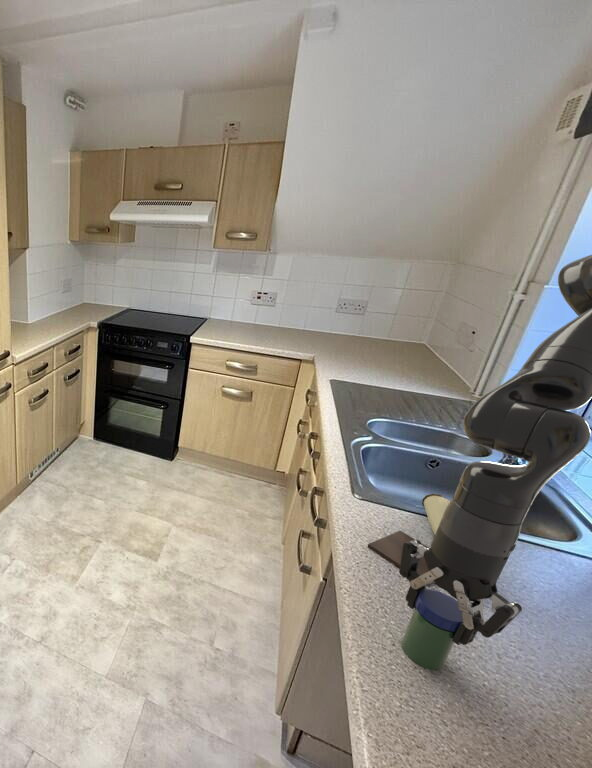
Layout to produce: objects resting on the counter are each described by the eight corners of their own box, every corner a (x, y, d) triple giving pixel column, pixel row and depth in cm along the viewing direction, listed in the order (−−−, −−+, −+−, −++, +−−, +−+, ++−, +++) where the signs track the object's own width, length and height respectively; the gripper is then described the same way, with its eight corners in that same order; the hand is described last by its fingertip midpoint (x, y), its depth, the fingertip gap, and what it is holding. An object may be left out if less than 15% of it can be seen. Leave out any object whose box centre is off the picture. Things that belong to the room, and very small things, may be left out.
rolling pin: (416, 500, 104) (422, 483, 102) (444, 508, 101) (451, 491, 99) (445, 584, 77) (454, 563, 75) (484, 598, 74) (495, 577, 73)
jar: (412, 632, 69) (430, 589, 66) (450, 661, 65) (472, 616, 61) (393, 645, 67) (411, 601, 63) (432, 676, 62) (453, 630, 59)
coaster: (399, 533, 92) (400, 530, 92) (457, 568, 83) (458, 565, 82) (367, 546, 88) (368, 543, 88) (424, 585, 78) (426, 582, 78)
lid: (405, 603, 64) (409, 594, 64) (431, 593, 66) (434, 585, 66) (448, 637, 59) (452, 627, 58) (474, 625, 61) (478, 615, 60)
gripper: (403, 509, 62) (372, 593, 68) (525, 580, 50) (475, 676, 56) (435, 499, 65) (403, 581, 71) (560, 566, 52) (508, 658, 58)
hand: (435, 622), depth 63 cm, fingers closed on lid, 5 cm apart
